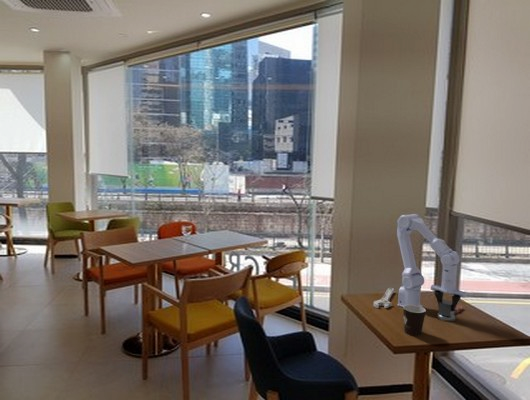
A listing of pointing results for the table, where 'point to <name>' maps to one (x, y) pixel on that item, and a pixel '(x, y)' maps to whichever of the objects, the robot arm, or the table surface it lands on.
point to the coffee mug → (413, 319)
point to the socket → (445, 307)
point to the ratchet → (449, 318)
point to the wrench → (384, 299)
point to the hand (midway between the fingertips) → (446, 309)
